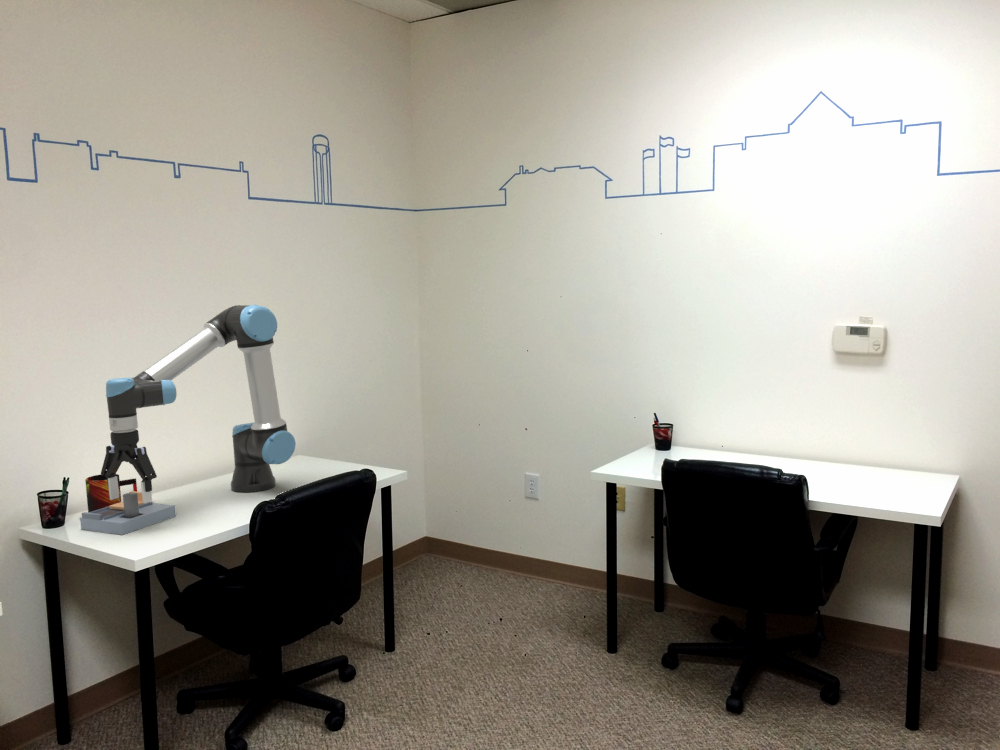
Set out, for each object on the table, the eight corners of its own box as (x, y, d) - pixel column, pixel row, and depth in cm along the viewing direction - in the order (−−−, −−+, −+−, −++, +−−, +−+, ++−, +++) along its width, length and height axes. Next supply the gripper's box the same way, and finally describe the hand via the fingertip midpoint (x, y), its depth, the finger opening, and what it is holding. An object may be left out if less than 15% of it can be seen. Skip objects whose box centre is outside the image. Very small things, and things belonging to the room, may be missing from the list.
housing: (136, 511, 255) (134, 495, 255) (175, 516, 248) (174, 500, 248) (81, 529, 237) (79, 512, 237) (122, 535, 230) (120, 517, 230)
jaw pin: (133, 524, 241) (130, 492, 240) (143, 525, 239) (140, 493, 238) (122, 528, 237) (119, 495, 236) (132, 529, 236) (129, 496, 234)
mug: (140, 508, 259) (137, 472, 258) (102, 519, 247) (99, 482, 245) (119, 505, 263) (116, 469, 262) (81, 516, 251) (78, 479, 250)
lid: (133, 500, 253) (132, 491, 253) (150, 502, 250) (149, 492, 250) (109, 508, 245) (108, 498, 245) (126, 510, 242) (125, 500, 242)
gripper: (83, 430, 237) (90, 500, 239) (144, 434, 226) (151, 507, 229) (105, 426, 243) (111, 493, 246) (165, 429, 233) (171, 500, 236)
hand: (130, 500), depth 237 cm, fingers open, 13 cm apart
